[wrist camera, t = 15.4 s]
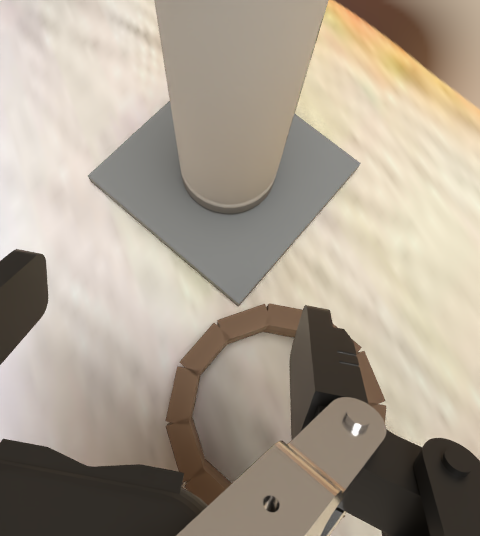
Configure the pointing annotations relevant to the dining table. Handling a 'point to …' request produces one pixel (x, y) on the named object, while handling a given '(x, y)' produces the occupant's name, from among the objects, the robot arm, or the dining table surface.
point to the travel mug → (235, 90)
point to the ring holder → (197, 360)
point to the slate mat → (219, 224)
